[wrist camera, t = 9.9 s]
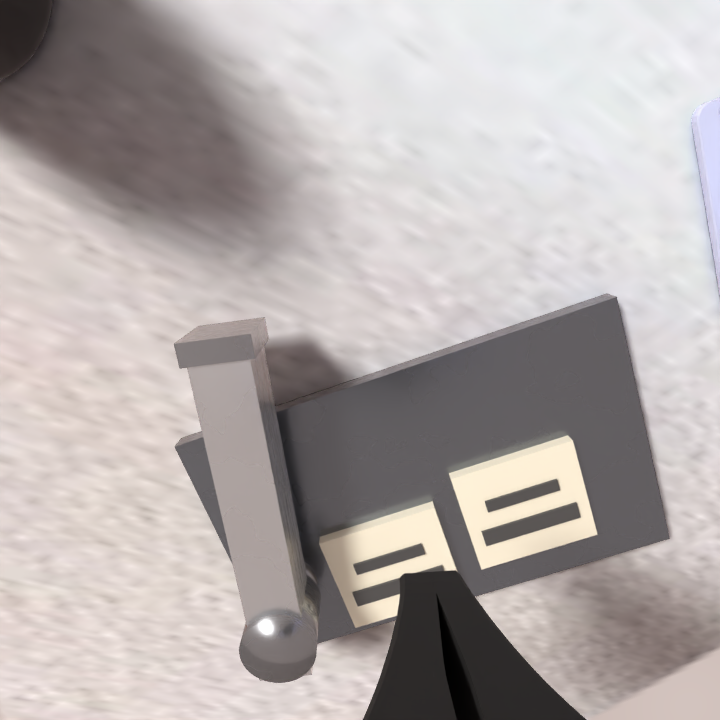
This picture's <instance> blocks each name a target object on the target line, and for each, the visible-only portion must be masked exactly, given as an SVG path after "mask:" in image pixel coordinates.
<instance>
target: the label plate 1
mask: <svg viewBox="0 0 720 720" xmlns="http://www.w3.org/2000/svg"><path fill="white" fill-rule="evenodd" d="M319 545H320V547H321V550H322V552H323V554H324V557H325V559H326V561H327V563H328V566H329V568H330V570H331V573H332V575H333V577H334V580H335V582H336V584H337V587H338V589H339V591H340V593H341V596H342V598H343V600H344V603H345V605H346V607H347V610H348V612H349V614H350V616H351V619H352V621H353V623H354V626H355V628H357V627H361V626H364V625H367V624H371V623H374V622H377V621H381V620H384V619H387V618H391V617H394V616H397V612H398V606H399V598H400V580H399V578H400V577H401V576H402V575H403V574H404V573H419V572H435V571H451V570H456V571H457V569H456V566H455V563H454V560H453V557H452V554H451V552H450V549H449V546H448V543H447V540H446V538H445V535H444V532H443V529H442V526H441V524H440V521H439V518H438V515H437V512H436V509H435V507H434V504H433V501H431V502H428V503H425V504H422V505H419V506H416V507H412V508H409V509H406V510H403V511H400V512H397V513H393V514H390V515H387V516H384V517H381V518H378V519H374V520H371V521H368V522H365V523H362V524H359V525H355V526H352V527H349V528H346V529H343V530H340V531H336V532H333V533H330V534H327V535H324V536H321V537H320V540H319ZM457 572H458V571H457Z"/></svg>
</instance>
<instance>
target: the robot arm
mask: <svg viewBox="0 0 720 720" xmlns="http://www.w3.org/2000/svg"><path fill="white" fill-rule="evenodd" d="M719 110H720V97H719V98H717V99H714V100H711V101H708V102H706V103H703V104H701V105H700V106H698V107H697V108H696V110H695V111H694V113H693V115H692V128H693V134H694V140H695V147H696V153H697V159H698V165H699V171H700V177H701V183H702V189H703V195H704V201H705V207H706V213H707V220H708V226H709V232H710V238H711V244H712V250H713V256H714V262H715V268H716V274H717V280H718V287H719V293H720V115H719ZM399 580H400V598H399V606H398V612H397V618H396V622H395V627H394V631H393V635H392V640H391V643H390V647H389V650H388V654H387V657H386V660H385V663H384V666H383V670H382V673H381V676H380V679H379V681H378V684H377V687H376V689H375V692H374V695H373V697H372V700H371V702H370V704H369V707H368V709H367V712H366V714H365V716H364V718H363V720H586V719H585V718H584V717H583V716H582V715H580V714H579V713H578V712H577V711H576V710H575V709H574V708H573V707H572V706H570V705H569V704H568V703H567V702H566V701H565V700H564V699H563V698H562V697H561V696H560V695H559V694H558V693H557V692H556V691H555V690H554V689H553V688H551V687H550V686H549V685H548V684H547V683H546V682H545V681H544V679H543V678H542V677H541V676H540V675H539V674H538V673H537V672H536V671H535V670H534V669H533V668H532V667H531V666H530V665H529V664H528V662H527V661H526V660H525V659H524V658H523V657H522V656H521V655H520V654H519V652H518V651H517V650H516V649H515V648H514V647H513V646H512V644H511V643H510V642H509V641H508V640H507V638H506V637H505V636H504V635H503V633H502V632H501V631H500V630H499V628H498V627H497V626H496V625H495V623H494V622H493V621H492V620H491V618H490V617H489V616H488V614H487V613H486V612H485V610H484V609H483V608H482V606H481V605H480V604H479V602H478V601H477V599H476V598H475V596H474V595H473V594H472V592H471V591H470V589H469V588H468V586H467V585H466V583H465V581H464V580H463V578H462V576H461V575H460V574H459V573H458V572H457V571H456V570H451V571H435V572H419V573H404V574H403V575H402V576H401V577H400V578H399Z"/></svg>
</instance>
